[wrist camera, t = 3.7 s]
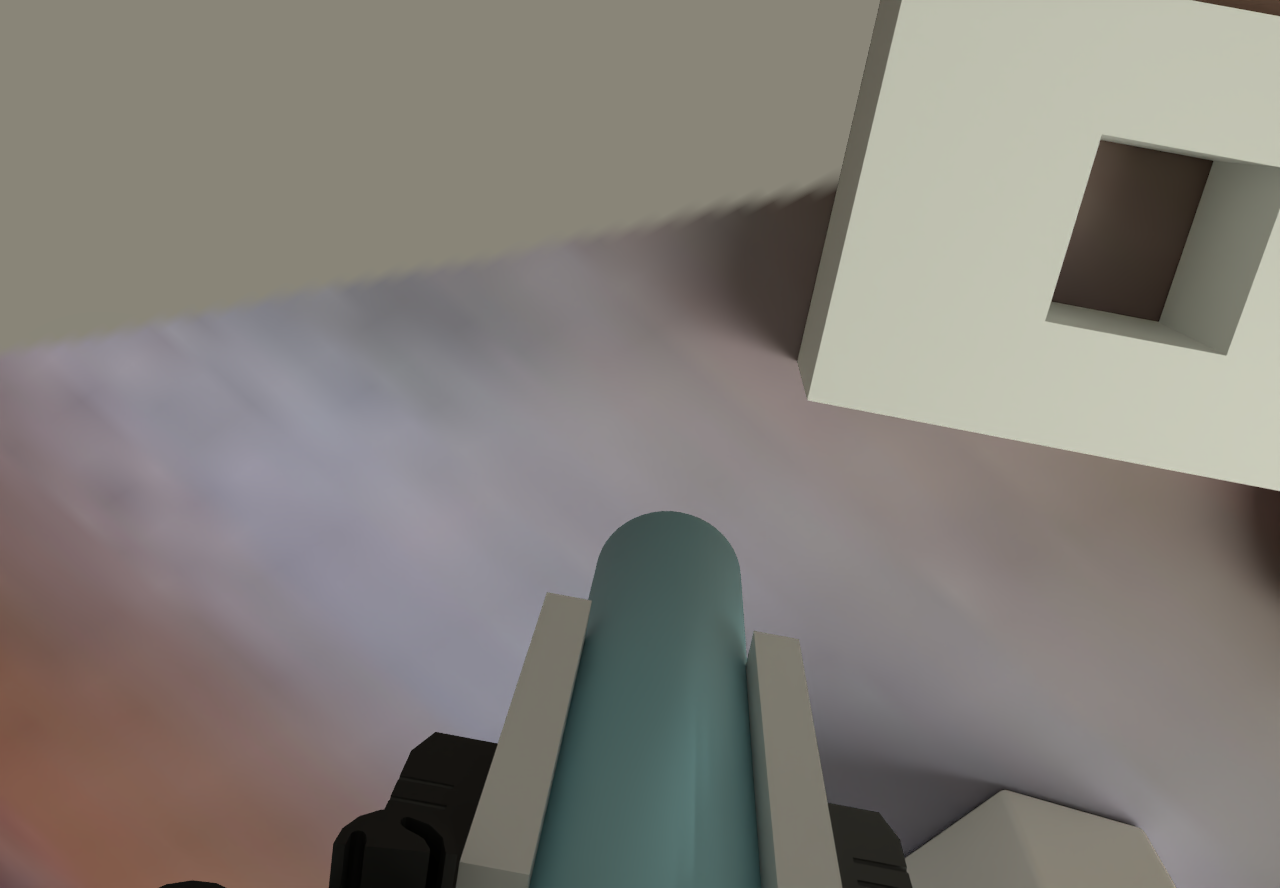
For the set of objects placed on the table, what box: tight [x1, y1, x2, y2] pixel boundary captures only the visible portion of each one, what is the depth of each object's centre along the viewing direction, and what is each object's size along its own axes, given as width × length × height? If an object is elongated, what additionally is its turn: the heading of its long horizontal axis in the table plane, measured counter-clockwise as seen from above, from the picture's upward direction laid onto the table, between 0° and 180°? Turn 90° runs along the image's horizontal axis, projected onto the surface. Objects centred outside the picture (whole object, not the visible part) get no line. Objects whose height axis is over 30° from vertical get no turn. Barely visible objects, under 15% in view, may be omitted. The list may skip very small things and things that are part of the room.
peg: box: [529, 511, 761, 888], centre depth 16 cm, size 3×3×12 cm
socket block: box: [797, 0, 1280, 491], centre depth 25 cm, size 14×10×4 cm
